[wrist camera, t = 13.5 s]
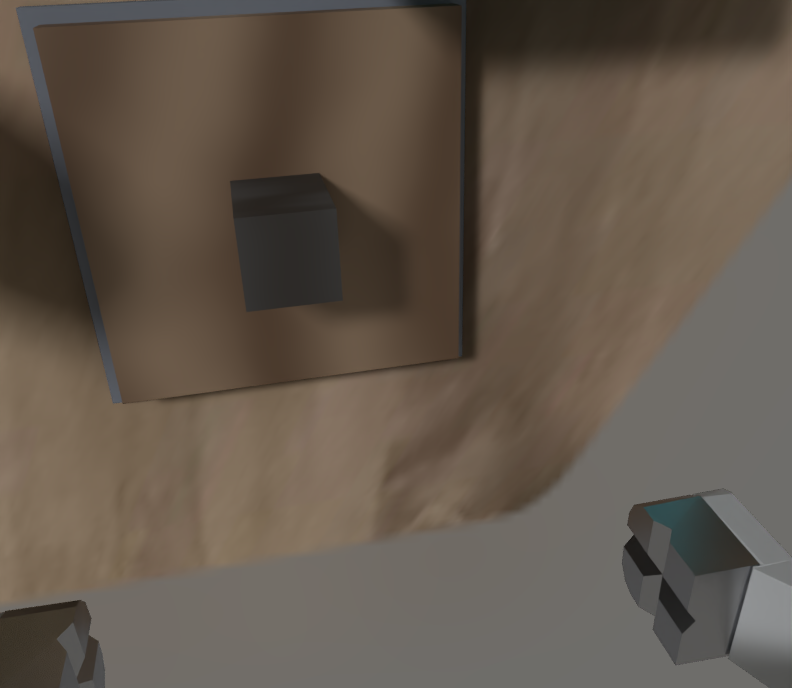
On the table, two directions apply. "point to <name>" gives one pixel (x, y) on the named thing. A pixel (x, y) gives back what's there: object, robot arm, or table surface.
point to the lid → (265, 190)
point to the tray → (174, 4)
